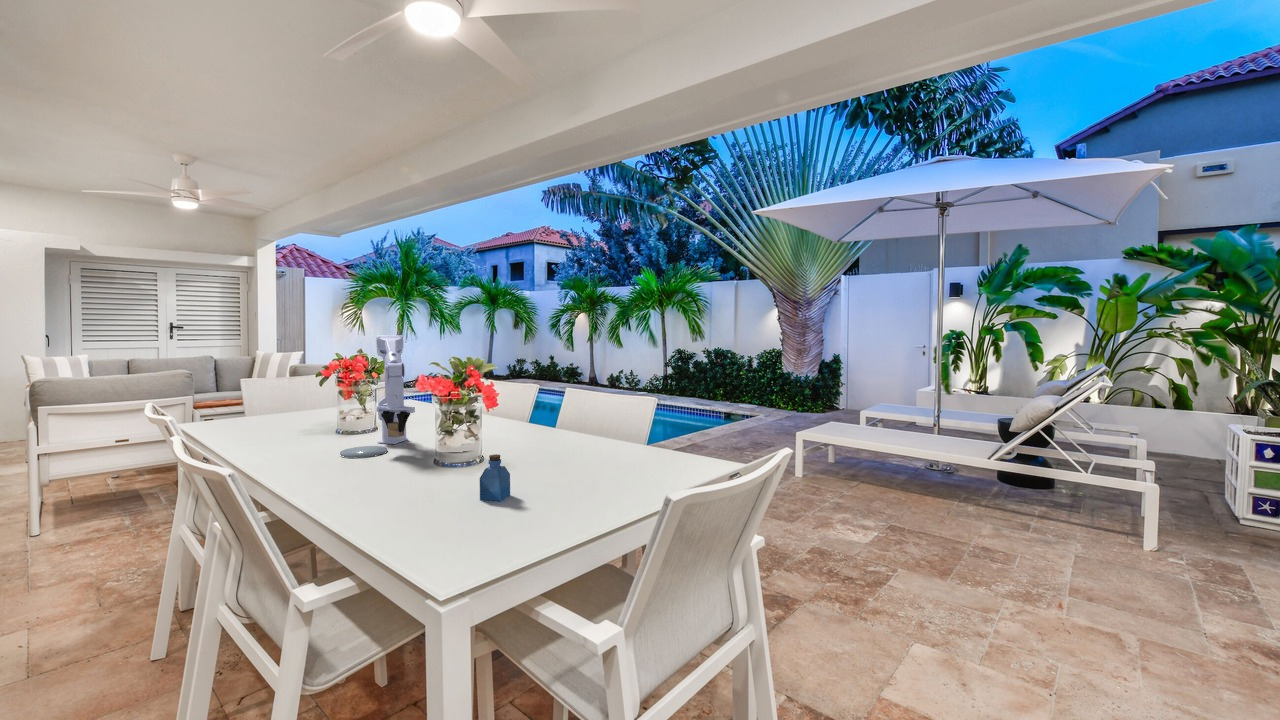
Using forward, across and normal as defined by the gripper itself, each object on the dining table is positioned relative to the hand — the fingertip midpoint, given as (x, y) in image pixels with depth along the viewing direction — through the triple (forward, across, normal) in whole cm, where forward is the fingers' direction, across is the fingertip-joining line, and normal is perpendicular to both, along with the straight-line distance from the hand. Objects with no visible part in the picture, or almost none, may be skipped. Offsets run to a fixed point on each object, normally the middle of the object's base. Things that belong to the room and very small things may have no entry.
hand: (396, 431), depth 209 cm
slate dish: (+9, -13, -1) cm, 16 cm away
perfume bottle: (+9, +59, -42) cm, 73 cm away
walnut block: (+2, 0, 0) cm, 2 cm away
